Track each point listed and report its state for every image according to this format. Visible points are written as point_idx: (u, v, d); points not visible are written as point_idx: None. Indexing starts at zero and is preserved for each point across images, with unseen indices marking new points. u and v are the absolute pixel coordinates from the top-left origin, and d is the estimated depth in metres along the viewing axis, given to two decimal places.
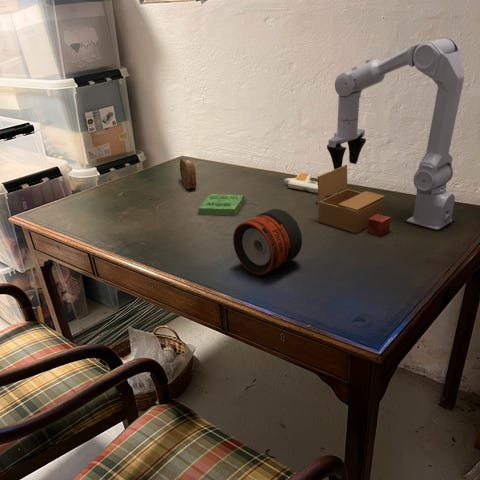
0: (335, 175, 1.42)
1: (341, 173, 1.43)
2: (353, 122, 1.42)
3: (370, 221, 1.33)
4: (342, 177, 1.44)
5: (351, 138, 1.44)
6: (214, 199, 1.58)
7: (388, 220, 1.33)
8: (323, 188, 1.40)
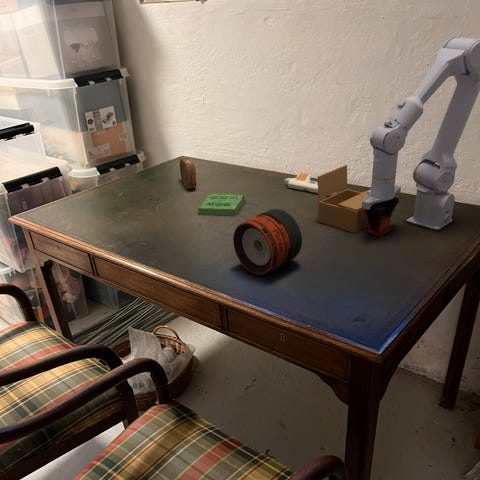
0: (335, 175, 1.42)
1: (341, 173, 1.43)
2: (390, 181, 1.25)
3: None
4: (342, 177, 1.44)
5: (387, 198, 1.27)
6: (214, 199, 1.58)
7: (388, 220, 1.33)
8: (323, 188, 1.40)
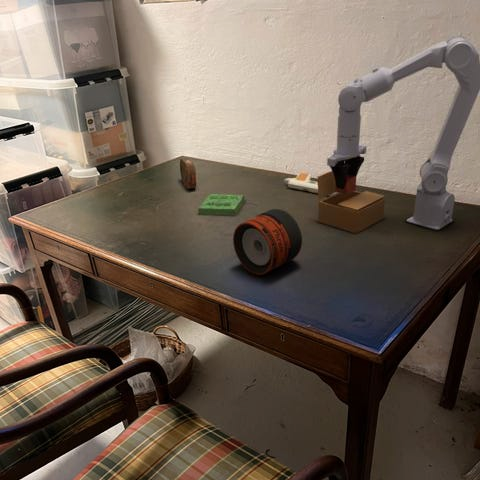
0: None
1: None
2: (354, 139, 1.30)
3: None
4: None
5: (352, 156, 1.32)
6: (214, 199, 1.58)
7: (354, 179, 1.38)
8: (323, 188, 1.40)
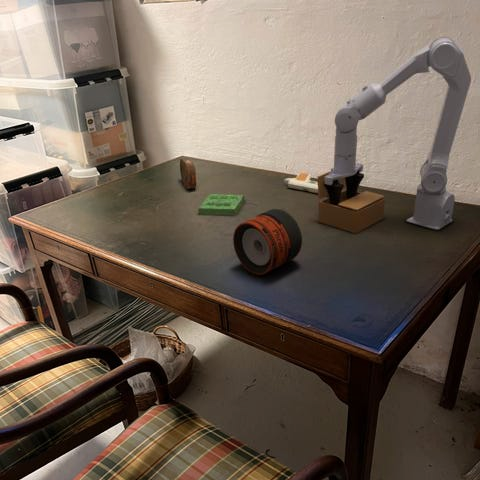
0: None
1: None
2: (351, 158, 1.33)
3: None
4: None
5: (349, 175, 1.35)
6: (214, 199, 1.58)
7: None
8: (323, 188, 1.40)
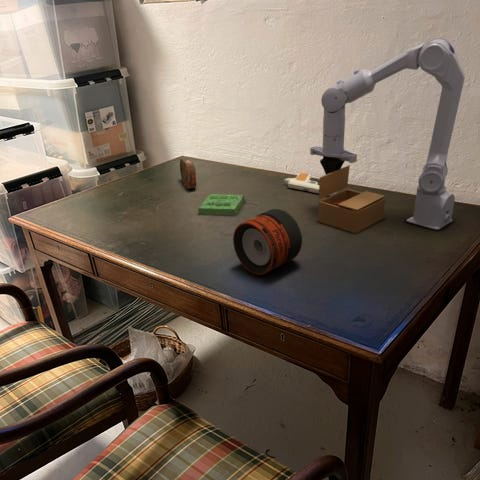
0: (337, 176, 1.41)
1: (343, 174, 1.43)
2: (324, 138, 1.36)
3: None
4: (343, 177, 1.44)
5: (322, 153, 1.39)
6: (214, 199, 1.58)
7: None
8: (324, 188, 1.40)
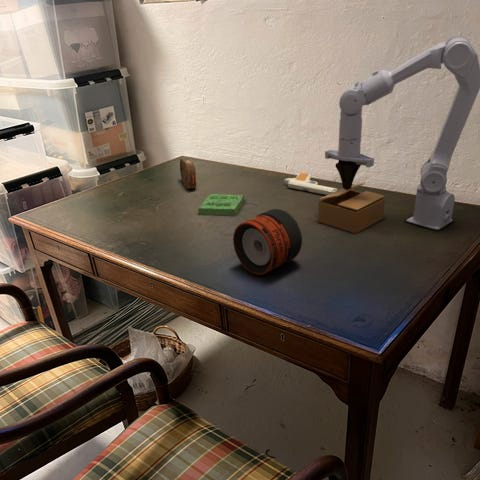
0: None
1: None
2: (340, 141, 1.33)
3: None
4: (351, 187, 1.43)
5: (338, 157, 1.35)
6: (214, 199, 1.58)
7: None
8: None
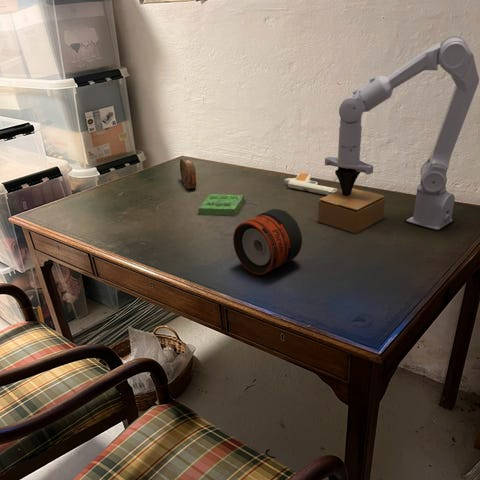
0: None
1: None
2: (340, 149, 1.34)
3: None
4: None
5: (337, 164, 1.36)
6: (214, 199, 1.58)
7: None
8: None
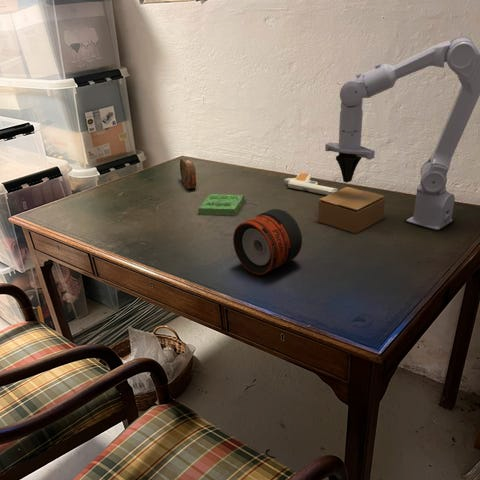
0: None
1: None
2: (341, 133, 1.32)
3: None
4: None
5: (338, 150, 1.34)
6: (214, 199, 1.58)
7: None
8: None
